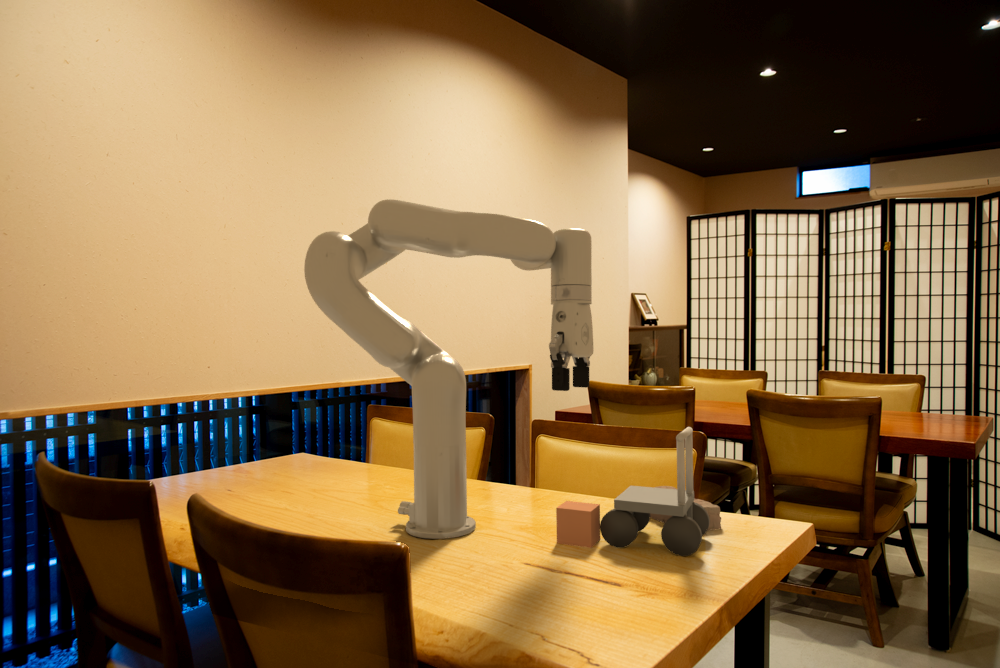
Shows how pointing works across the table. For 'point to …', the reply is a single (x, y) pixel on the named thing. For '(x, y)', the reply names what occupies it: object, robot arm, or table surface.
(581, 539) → the block
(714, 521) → the brick
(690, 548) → the trolley
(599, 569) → the table surface
